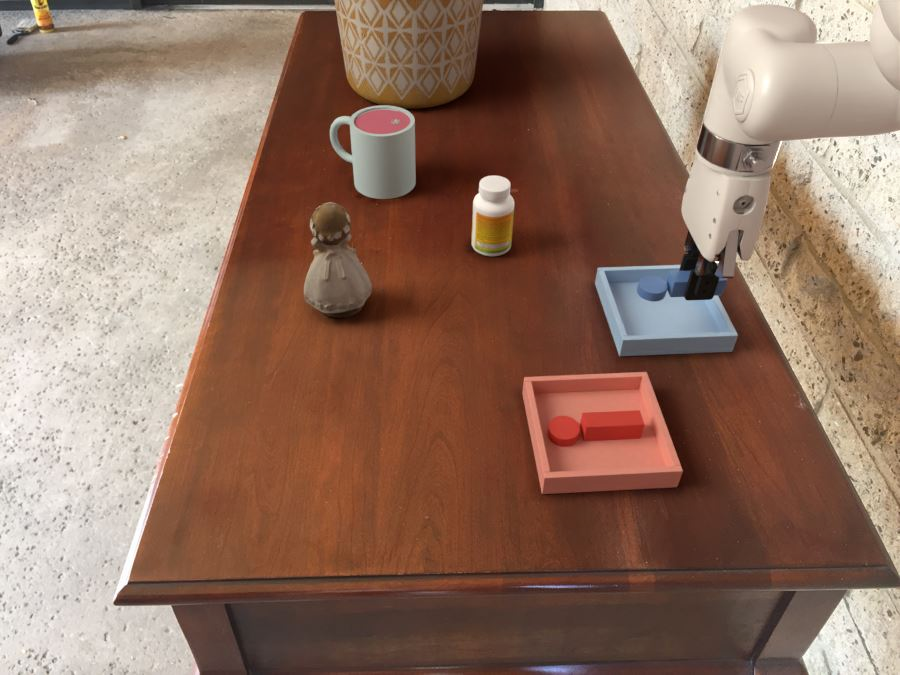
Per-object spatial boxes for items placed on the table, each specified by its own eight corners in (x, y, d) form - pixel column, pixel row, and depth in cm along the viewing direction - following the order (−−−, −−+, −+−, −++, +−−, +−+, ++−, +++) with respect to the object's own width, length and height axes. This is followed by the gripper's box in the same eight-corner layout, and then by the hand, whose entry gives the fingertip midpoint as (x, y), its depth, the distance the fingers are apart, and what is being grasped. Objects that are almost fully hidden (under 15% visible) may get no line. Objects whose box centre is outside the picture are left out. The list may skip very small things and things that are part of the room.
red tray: (677, 487, 76) (683, 471, 74) (541, 494, 75) (544, 478, 73) (642, 388, 86) (646, 371, 84) (522, 393, 85) (524, 376, 83)
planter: (322, 111, 132) (309, -23, 118) (355, 50, 151) (347, -73, 137) (474, 123, 130) (480, -13, 116) (488, 59, 149) (495, -64, 134)
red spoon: (642, 443, 79) (646, 429, 78) (550, 447, 79) (552, 433, 77) (634, 419, 82) (638, 405, 80) (545, 423, 81) (547, 409, 80)
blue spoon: (724, 299, 87) (729, 283, 85) (640, 302, 86) (644, 286, 85) (715, 280, 89) (720, 265, 88) (633, 284, 88) (637, 268, 87)
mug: (426, 175, 118) (426, 114, 111) (396, 205, 112) (393, 142, 105) (350, 153, 122) (345, 93, 116) (316, 181, 116) (309, 119, 109)
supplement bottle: (517, 252, 104) (523, 189, 97) (480, 261, 102) (484, 198, 96) (501, 230, 107) (505, 168, 101) (465, 238, 106) (467, 176, 99)
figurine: (365, 286, 98) (357, 182, 88) (377, 320, 93) (371, 215, 83) (301, 297, 96) (286, 193, 86) (311, 333, 92) (296, 227, 81)
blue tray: (732, 351, 90) (738, 335, 89) (619, 356, 89) (622, 339, 88) (697, 280, 100) (701, 263, 98) (594, 283, 99) (597, 267, 98)
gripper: (809, 186, 70) (751, 337, 82) (746, 104, 81) (704, 247, 94) (727, 189, 69) (682, 340, 82) (676, 105, 81) (643, 249, 93)
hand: (694, 289), depth 88 cm, fingers closed on blue spoon, 2 cm apart
